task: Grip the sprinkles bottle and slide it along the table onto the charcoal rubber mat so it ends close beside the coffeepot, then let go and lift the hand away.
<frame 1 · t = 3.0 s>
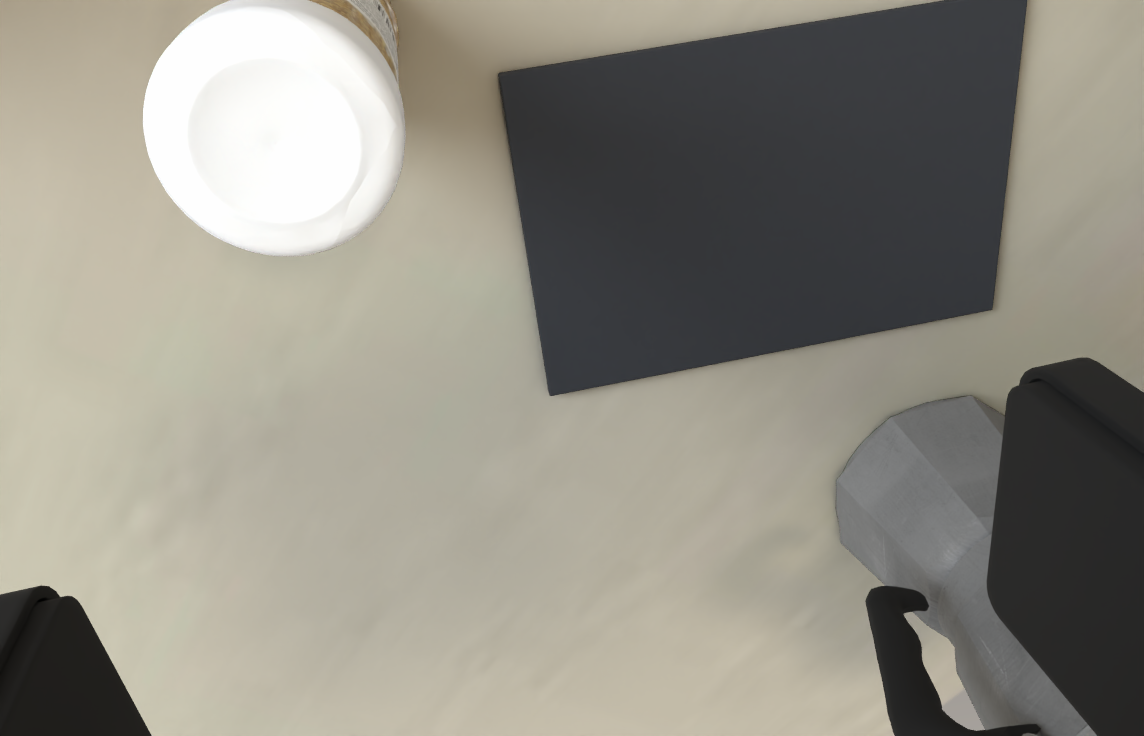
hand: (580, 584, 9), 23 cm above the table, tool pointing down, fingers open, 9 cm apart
coffeepot: (903, 478, 40), on the table
sprinkles bottle: (326, 31, 28), on the table
mat: (770, 202, 33), on the table
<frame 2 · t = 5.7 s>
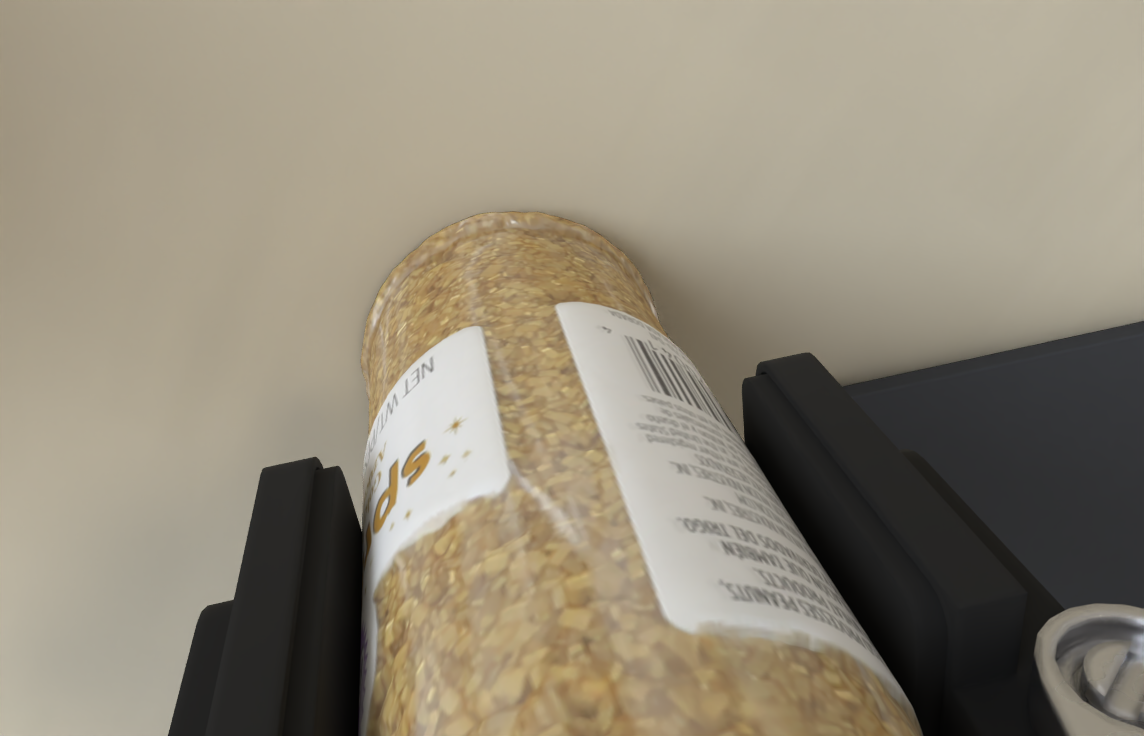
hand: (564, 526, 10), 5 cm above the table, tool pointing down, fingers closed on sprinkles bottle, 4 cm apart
sprinkles bottle: (512, 340, 14), on the table, touching gripper
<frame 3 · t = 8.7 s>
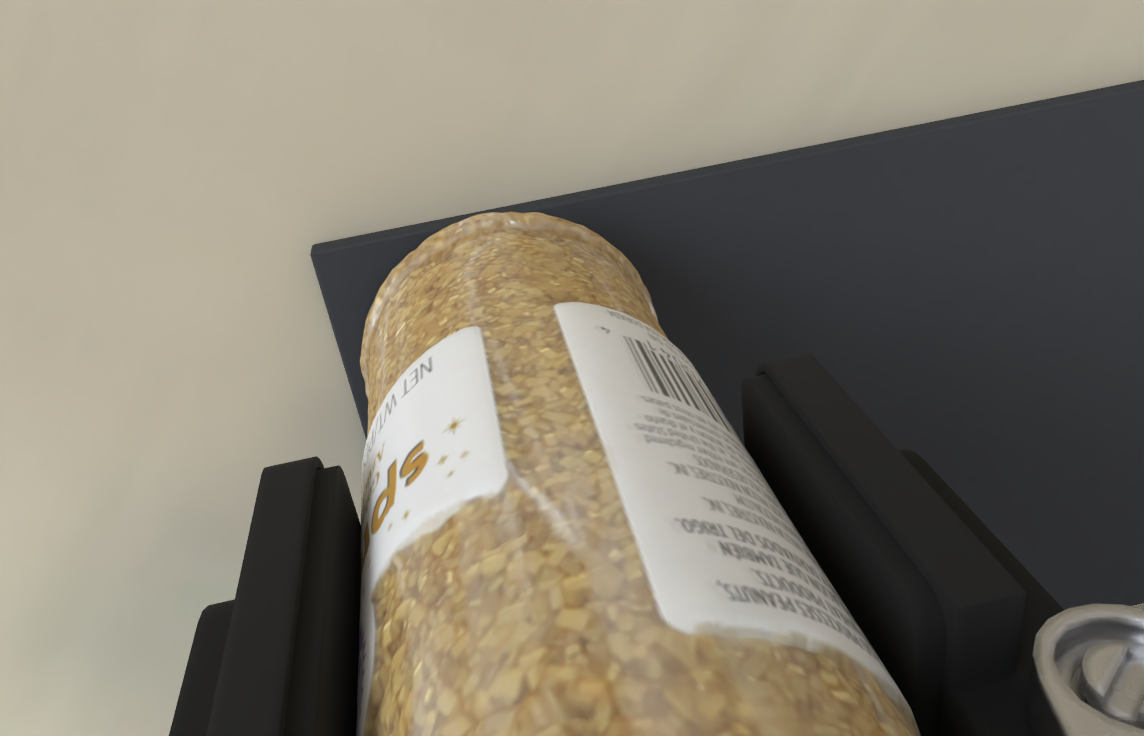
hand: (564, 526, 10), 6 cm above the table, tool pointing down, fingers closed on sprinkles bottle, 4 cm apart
sprinkles bottle: (511, 340, 14), point 1 cm above the table, touching gripper
mat: (863, 440, 18), on the table
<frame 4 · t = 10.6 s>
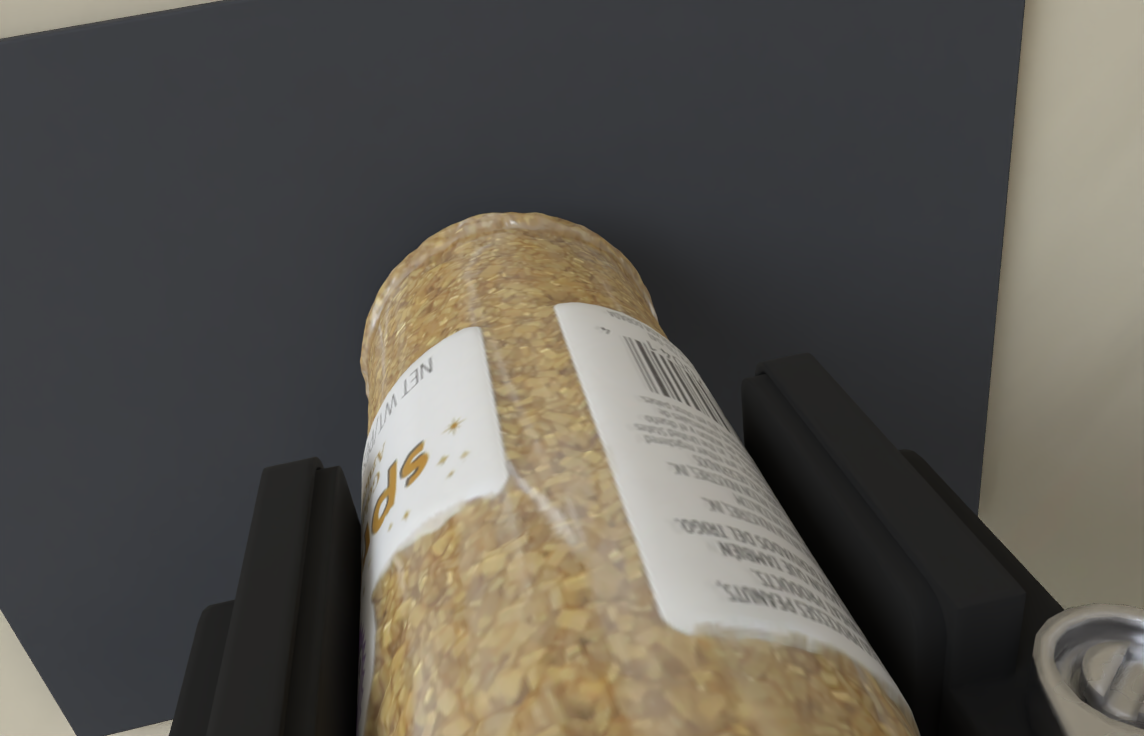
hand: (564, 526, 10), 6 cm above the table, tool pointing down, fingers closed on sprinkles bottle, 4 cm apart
sprinkles bottle: (511, 340, 14), point 1 cm above the table, touching gripper
mat: (490, 352, 15), on the table
when the fingers open (5 cm above the table, at t = 11.6 s): sprinkles bottle stays where it is, resting on mat.
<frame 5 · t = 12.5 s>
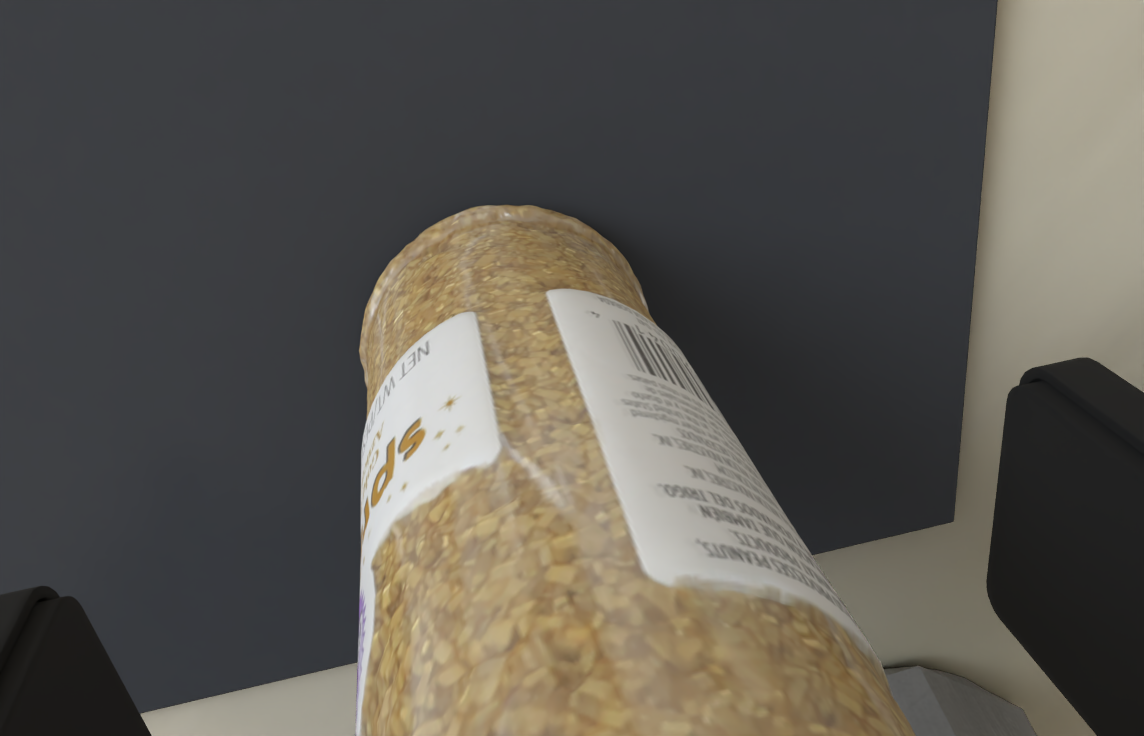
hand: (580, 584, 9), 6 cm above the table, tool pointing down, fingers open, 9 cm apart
sprinkles bottle: (506, 331, 15), resting on mat
mat: (443, 339, 15), on the table
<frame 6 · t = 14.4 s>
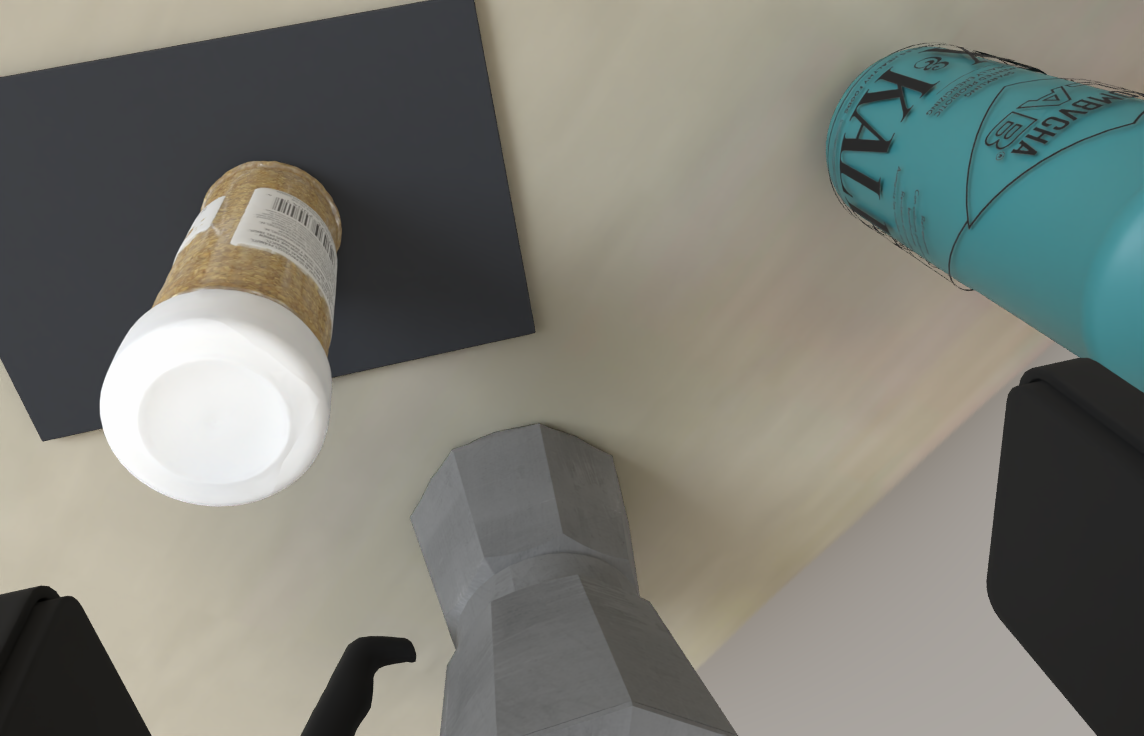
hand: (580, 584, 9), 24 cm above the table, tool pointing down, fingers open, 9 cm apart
coffeepot: (495, 512, 38), on the table
sprinkles bottle: (275, 223, 31), resting on mat
mat: (245, 228, 31), on the table
beverage bottle: (878, 126, 34), on the table
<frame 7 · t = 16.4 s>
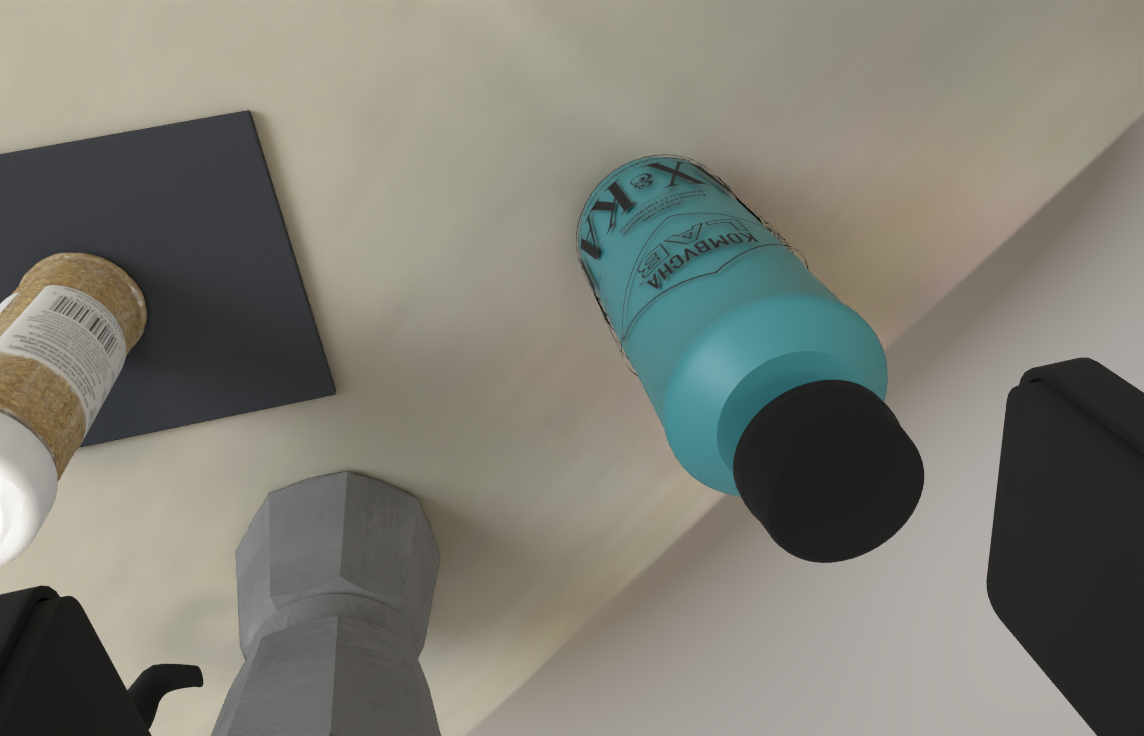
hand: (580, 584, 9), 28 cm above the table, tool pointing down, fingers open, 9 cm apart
coffeepot: (317, 546, 43), on the table
sprinkles bottle: (89, 302, 35), resting on mat
mat: (63, 306, 35), on the table
beverage bottle: (640, 216, 38), on the table
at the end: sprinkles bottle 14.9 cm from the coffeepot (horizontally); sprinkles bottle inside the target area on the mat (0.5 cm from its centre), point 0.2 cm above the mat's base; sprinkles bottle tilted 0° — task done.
